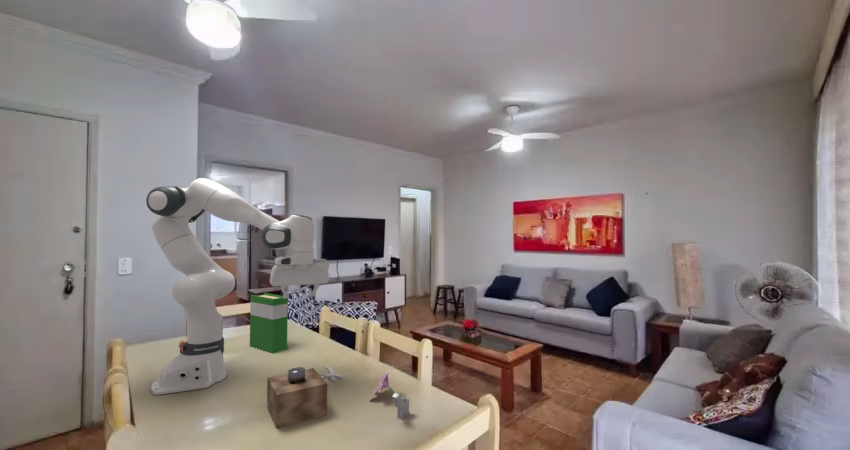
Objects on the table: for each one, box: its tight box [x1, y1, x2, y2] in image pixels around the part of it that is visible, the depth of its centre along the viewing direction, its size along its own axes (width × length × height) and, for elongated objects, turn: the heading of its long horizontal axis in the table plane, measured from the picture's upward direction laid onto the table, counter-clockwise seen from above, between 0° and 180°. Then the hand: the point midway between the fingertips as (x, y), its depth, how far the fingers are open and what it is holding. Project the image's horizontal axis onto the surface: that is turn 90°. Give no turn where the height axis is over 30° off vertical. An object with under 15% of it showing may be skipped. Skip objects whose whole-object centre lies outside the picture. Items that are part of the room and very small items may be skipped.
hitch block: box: [266, 367, 328, 429], centre depth 106 cm, size 14×14×9 cm
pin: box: [287, 366, 306, 385], centre depth 106 cm, size 5×5×10 cm
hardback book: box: [249, 292, 289, 355], centre depth 164 cm, size 18×7×24 cm, turn 57°
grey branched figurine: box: [319, 366, 344, 384], centre depth 132 cm, size 10×2×15 cm
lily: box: [368, 366, 395, 402], centre depth 116 cm, size 12×12×10 cm
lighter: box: [391, 392, 410, 421], centre depth 102 cm, size 7×2×8 cm, turn 154°
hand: (299, 297), depth 128 cm, fingers open, 8 cm apart
